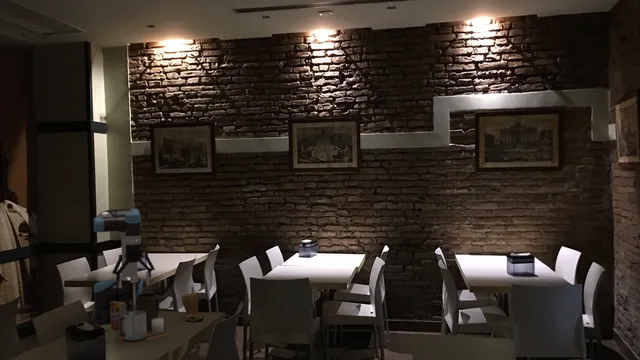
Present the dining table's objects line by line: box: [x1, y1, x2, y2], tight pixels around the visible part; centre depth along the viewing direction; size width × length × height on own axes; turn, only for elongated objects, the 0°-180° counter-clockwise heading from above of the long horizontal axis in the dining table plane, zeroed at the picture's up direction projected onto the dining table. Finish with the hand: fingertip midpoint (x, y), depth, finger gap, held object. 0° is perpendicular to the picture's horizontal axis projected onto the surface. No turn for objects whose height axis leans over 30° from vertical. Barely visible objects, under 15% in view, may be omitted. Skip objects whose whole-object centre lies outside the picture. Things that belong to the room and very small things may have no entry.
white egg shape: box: [151, 317, 165, 334], centre depth 290 cm, size 6×6×7 cm
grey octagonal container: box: [118, 309, 148, 343], centre depth 279 cm, size 11×13×13 cm
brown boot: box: [181, 292, 203, 322], centre depth 323 cm, size 15×12×15 cm
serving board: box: [114, 330, 172, 346], centre depth 283 cm, size 16×24×2 cm, turn 122°
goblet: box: [130, 277, 138, 315], centre depth 280 cm, size 8×8×20 cm
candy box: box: [110, 301, 128, 331], centre depth 302 cm, size 9×4×15 cm, turn 57°
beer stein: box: [136, 293, 160, 332], centre depth 301 cm, size 15×11×20 cm
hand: (134, 286), depth 280 cm, fingers open, 13 cm apart
